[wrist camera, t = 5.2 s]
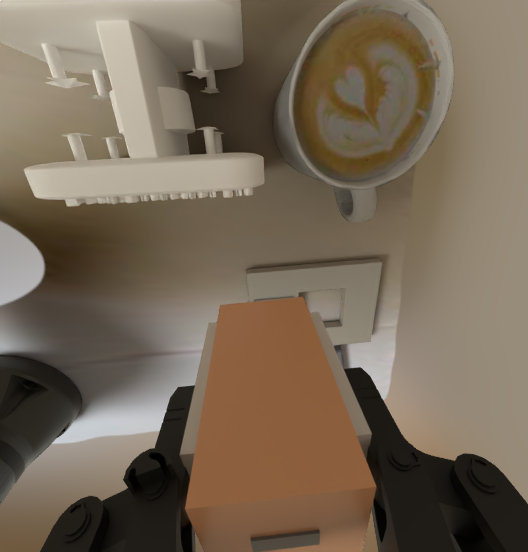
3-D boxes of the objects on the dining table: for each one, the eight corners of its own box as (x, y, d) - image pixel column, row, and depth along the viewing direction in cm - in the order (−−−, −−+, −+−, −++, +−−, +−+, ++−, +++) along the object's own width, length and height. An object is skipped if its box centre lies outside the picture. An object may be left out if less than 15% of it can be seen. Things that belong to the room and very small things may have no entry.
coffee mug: (269, 58, 22) (285, -7, 13) (384, 49, 22) (477, -20, 13) (277, 214, 28) (291, 244, 19) (367, 206, 28) (423, 232, 19)
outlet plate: (254, 346, 36) (254, 353, 35) (246, 269, 30) (246, 274, 29) (366, 336, 36) (371, 342, 35) (377, 258, 31) (383, 262, 30)
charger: (231, 366, 15) (216, 582, 8) (220, 305, 13) (184, 513, 6) (304, 358, 15) (361, 565, 8) (303, 296, 13) (377, 490, 6)
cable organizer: (252, 45, 21) (257, -54, 11) (259, 178, 26) (267, 197, 16) (70, 52, 21) (-104, -45, 11) (111, 186, 26) (17, 211, 15)
